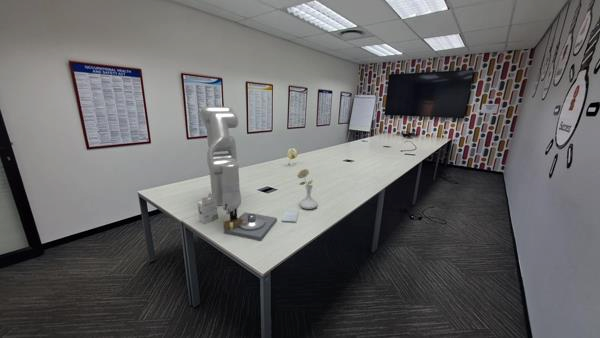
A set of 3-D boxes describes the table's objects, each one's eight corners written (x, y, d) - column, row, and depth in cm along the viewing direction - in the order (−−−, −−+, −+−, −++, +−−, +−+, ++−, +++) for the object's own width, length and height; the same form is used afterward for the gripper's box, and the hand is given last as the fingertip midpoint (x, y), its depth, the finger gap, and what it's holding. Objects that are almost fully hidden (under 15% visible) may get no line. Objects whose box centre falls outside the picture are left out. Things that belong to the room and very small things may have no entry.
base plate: (224, 233, 116) (223, 222, 114) (244, 215, 134) (244, 205, 132) (260, 240, 110) (260, 229, 109) (276, 221, 129) (276, 211, 127)
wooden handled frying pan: (227, 236, 109) (226, 228, 108) (221, 222, 121) (221, 215, 120) (269, 226, 119) (269, 218, 118) (260, 214, 131) (260, 207, 129)
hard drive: (296, 221, 127) (298, 211, 139) (281, 220, 127) (285, 210, 139) (296, 224, 127) (298, 213, 139) (281, 223, 128) (285, 212, 140)
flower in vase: (314, 202, 153) (316, 165, 146) (319, 210, 143) (321, 171, 135) (295, 203, 151) (296, 166, 144) (298, 211, 140) (299, 172, 133)
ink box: (213, 215, 133) (211, 191, 129) (218, 218, 130) (216, 193, 126) (199, 221, 127) (196, 196, 123) (203, 224, 124) (201, 198, 120)
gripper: (233, 181, 122) (235, 212, 128) (215, 191, 109) (218, 226, 114) (246, 183, 120) (247, 215, 125) (229, 194, 106) (232, 229, 112)
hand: (233, 220), depth 120 cm, fingers closed
